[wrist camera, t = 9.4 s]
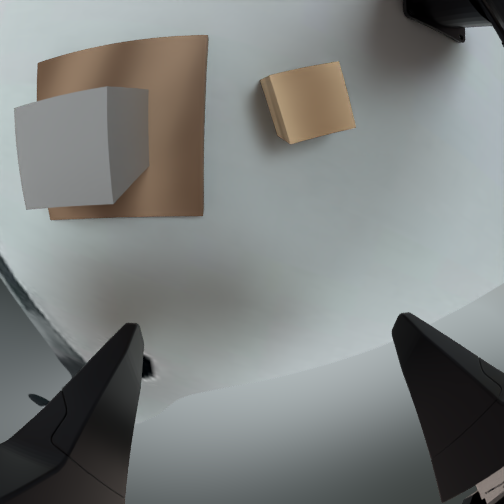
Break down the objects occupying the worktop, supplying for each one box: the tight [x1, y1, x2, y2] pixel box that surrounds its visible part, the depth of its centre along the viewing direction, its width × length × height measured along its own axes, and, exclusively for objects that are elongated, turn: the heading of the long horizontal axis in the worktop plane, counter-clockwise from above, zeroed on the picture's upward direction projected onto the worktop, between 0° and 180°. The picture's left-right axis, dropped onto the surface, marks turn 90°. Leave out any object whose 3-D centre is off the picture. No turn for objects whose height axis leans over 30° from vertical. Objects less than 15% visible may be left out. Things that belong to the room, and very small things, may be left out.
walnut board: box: [37, 35, 208, 220], centre depth 16 cm, size 12×12×1 cm
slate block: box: [14, 86, 149, 210], centre depth 13 cm, size 5×5×7 cm
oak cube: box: [260, 61, 356, 144], centre depth 16 cm, size 4×4×4 cm
